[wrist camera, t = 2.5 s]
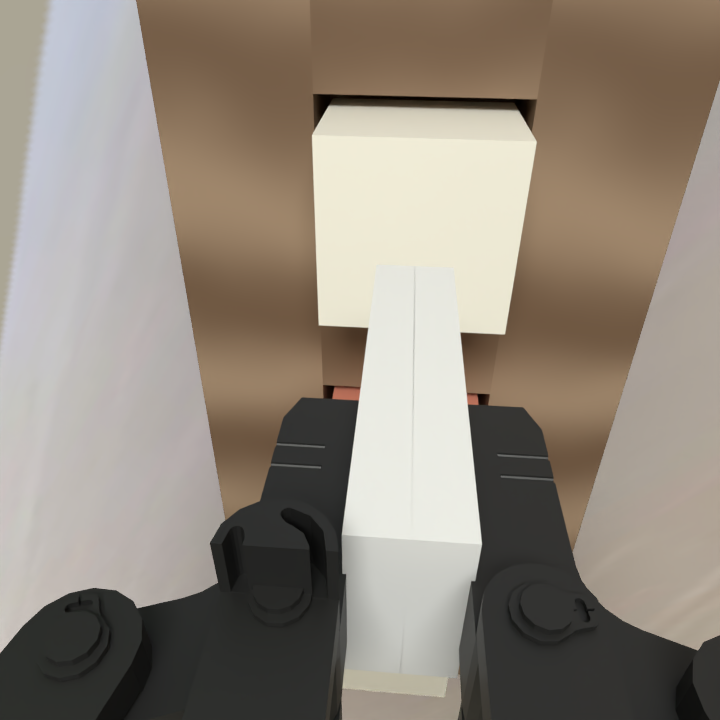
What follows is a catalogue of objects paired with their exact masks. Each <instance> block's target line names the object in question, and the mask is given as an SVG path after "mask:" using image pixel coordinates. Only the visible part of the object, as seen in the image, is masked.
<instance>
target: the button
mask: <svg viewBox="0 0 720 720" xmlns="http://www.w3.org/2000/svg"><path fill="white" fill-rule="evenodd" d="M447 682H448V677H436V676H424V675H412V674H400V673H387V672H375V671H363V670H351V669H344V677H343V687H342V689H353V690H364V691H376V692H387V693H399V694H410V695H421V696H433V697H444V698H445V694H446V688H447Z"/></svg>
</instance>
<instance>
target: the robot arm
mask: <svg viewBox="0 0 720 720" xmlns="http://www.w3.org/2000/svg"><path fill="white" fill-rule="evenodd" d="M553 479H554V476H553V472H552V468H551V464H550V461H548V452H547V448H546V444H545V440H544V436H543V432H542V429H541V428H540V427H539V426H538V424H537V423H536V422H535V421H534V420H533V418H532V417H531V416H530V415H529V414H528V412H527V411H526V410H525V409H524V408H523V407H508V406H489V405H471V404H468V403H467V393H466V383H465V374H464V364H463V354H462V344H461V335H460V325H459V315H458V305H457V296H456V286H455V276H454V268H449V267H424V266H400V265H376V273H375V281H374V288H373V296H372V304H371V312H370V319H369V327H368V335H367V343H366V350H365V358H364V366H363V374H362V382H361V389H360V397H359V400H342V399H323V398H305V397H302V398H301V399H300V400H299V401H298V402H297V403H296V404H295V405H294V406H293V407H292V409H291V410H290V411H289V412H288V413H287V414H286V415H285V416H284V417H283V420H282V424H281V428H280V431H279V435H278V438H277V444H276V447H275V449H274V452H273V456H272V460H271V467H269V470H268V474H267V477H266V481H265V485H264V488H263V492H262V495H261V499H260V501H259V502H256V503H254V504H251V505H249V506H246V507H244V508H241V509H239V510H238V511H237V512H235V513H234V514H233V515H232V516H230V517H229V518H228V519H227V520H226V521H224V522H223V523H222V524H221V525H220V527H219V529H218V530H217V532H216V534H215V535H214V537H213V539H212V541H211V542H210V545H211V550H212V555H213V560H214V565H215V569H216V574H217V579H218V583H217V584H215V585H213V586H212V587H210V588H208V589H206V590H204V591H203V592H200V593H197V594H194V595H191V596H188V597H185V598H181V599H177V600H172V601H168V602H163V603H159V604H155V605H150V606H146V607H142V608H136V606H135V604H134V602H133V601H132V600H131V599H129V598H127V597H126V596H124V595H122V594H121V593H119V592H118V591H116V590H107V589H98V588H92V589H87V590H83V591H78V592H73V593H69V594H67V595H65V596H63V597H61V598H60V599H58V600H56V601H54V602H52V603H50V604H48V605H46V606H44V607H43V608H42V609H41V610H40V611H39V612H38V613H37V614H36V615H35V616H34V617H32V618H31V619H30V620H29V621H28V622H27V623H26V624H25V625H24V626H23V627H22V628H21V629H20V630H19V632H18V633H17V634H16V635H15V636H14V638H13V639H12V640H11V641H10V642H9V643H8V645H7V646H6V647H5V648H4V649H3V651H2V652H1V653H0V720H342V701H341V697H342V687H343V677H344V669H351V670H363V671H375V672H387V673H400V674H412V675H424V676H436V677H448V678H457V676H458V671H459V665H460V680H461V699H462V702H461V707H460V712H459V717H458V720H720V636H717V637H715V638H712V639H710V640H708V641H705V642H704V643H703V644H702V646H701V647H700V649H699V650H698V651H697V650H695V649H692V648H689V647H686V646H684V645H681V644H678V643H676V642H673V641H670V640H667V639H665V638H662V637H659V636H657V635H654V634H651V633H648V632H646V631H643V630H641V629H639V628H636V627H634V626H632V625H630V624H628V623H626V622H624V621H622V620H621V619H619V618H618V617H616V616H615V615H613V614H612V613H611V612H609V611H608V610H606V609H605V608H604V607H603V606H602V605H601V604H600V603H599V602H598V600H597V598H596V597H595V596H594V595H593V594H592V593H591V592H590V591H589V590H588V589H587V588H586V586H585V585H584V583H583V582H582V580H581V578H580V576H579V573H578V570H577V568H576V565H575V561H574V557H573V553H572V549H571V545H570V541H569V537H568V533H567V529H566V525H565V521H564V517H563V513H562V509H561V505H560V500H559V496H558V492H557V488H556V484H555V483H554V481H553Z"/></svg>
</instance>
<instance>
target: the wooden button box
mask: <svg viewBox="0 0 720 720" xmlns="http://www.w3.org/2000/svg"><path fill="white" fill-rule="evenodd" d="M136 2H137V8H138V14H139V19H140V25H141V31H142V37H143V43H144V49H145V54H146V60H147V66H148V72H149V78H150V83H151V89H152V95H153V101H154V107H155V113H156V118H157V124H158V130H159V136H160V142H161V148H162V153H163V159H164V165H165V171H166V177H167V182H168V188H169V194H170V200H171V206H172V212H173V217H174V223H175V229H176V235H177V241H178V246H179V252H180V258H181V264H182V270H183V276H184V281H185V287H186V293H187V299H188V305H189V310H190V316H191V322H192V328H193V334H194V340H195V345H196V351H197V357H198V363H199V369H200V374H201V380H202V386H203V392H204V398H205V404H206V409H207V415H208V421H209V427H210V433H211V438H212V444H213V450H214V456H215V462H216V468H217V473H218V479H219V485H220V491H221V497H222V502H223V508H224V514H225V520H227V519H228V518H229V517H230V516H232V515H233V514H234V513H235V512H237V511H238V510H239V509H241V508H244V507H246V506H249V505H251V504H254V503H256V502H259V501H260V499H261V495H262V492H263V488H264V485H265V481H266V477H267V474H268V470H269V467H271V460H272V456H273V452H274V449H275V447H276V444H277V438H278V435H279V431H280V428H281V424H282V420H283V417H284V416H285V415H286V414H287V413H288V412H289V411H290V410H291V409H292V407H293V406H294V405H295V404H296V403H297V402H298V401H299V400H300V399H301V398H302V397H305V398H323V399H332V398H333V393H334V387H335V386H351V387H361V382H362V374H363V366H364V358H365V350H366V343H367V335H368V328H362V327H342V326H322V325H319V319H318V291H317V263H316V236H315V208H314V180H313V152H312V134H313V132H314V131H315V129H316V127H317V125H318V124H319V122H320V120H321V118H322V117H323V115H324V113H325V111H326V110H327V108H328V106H329V104H330V103H331V101H332V99H333V98H346V99H386V100H426V101H466V102H506V103H515V105H516V107H517V109H518V110H519V112H520V114H521V115H522V117H523V119H524V121H525V122H526V124H527V126H528V127H529V129H530V131H531V133H532V134H533V136H534V138H535V139H536V141H537V144H536V150H535V156H534V162H533V168H532V174H531V180H530V186H529V192H528V198H527V204H526V210H525V216H524V222H523V228H522V234H521V241H520V247H519V253H518V259H517V265H516V271H515V277H514V283H513V289H512V295H511V301H510V307H509V313H508V319H507V325H506V331H505V334H484V333H464V332H460V335H461V344H462V354H463V364H464V374H465V383H466V393H477V396H478V404H479V405H489V406H508V407H523V408H524V409H525V410H526V411H527V412H528V414H529V415H530V416H531V417H532V418H533V420H534V421H535V422H536V423H537V424H538V426H539V427H540V428H541V429H542V432H543V436H544V440H545V444H546V448H547V452H548V461H550V464H551V468H552V472H553V476H554V479H553V481H554V483H555V484H556V488H557V492H558V496H559V500H560V505H561V509H562V513H563V517H564V521H565V525H566V529H567V533H568V537H569V541H570V545H571V549H572V552H573V549H574V546H575V542H576V539H577V536H578V533H579V530H580V526H581V523H582V520H583V517H584V514H585V510H586V507H587V504H588V501H589V497H590V494H591V491H592V488H593V485H594V481H595V478H596V475H597V472H598V469H599V465H600V462H601V459H602V456H603V453H604V449H605V446H606V443H607V440H608V437H609V433H610V430H611V427H612V424H613V421H614V417H615V414H616V411H617V408H618V405H619V401H620V398H621V395H622V392H623V388H624V385H625V382H626V379H627V376H628V372H629V369H630V366H631V363H632V360H633V356H634V353H635V350H636V347H637V344H638V340H639V337H640V334H641V331H642V328H643V324H644V321H645V318H646V315H647V312H648V308H649V305H650V302H651V299H652V296H653V292H654V289H655V286H656V283H657V279H658V276H659V273H660V270H661V267H662V263H663V260H664V257H665V254H666V251H667V247H668V244H669V241H670V238H671V235H672V231H673V228H674V225H675V222H676V219H677V215H678V212H679V209H680V206H681V203H682V199H683V196H684V193H685V190H686V187H687V183H688V180H689V177H690V174H691V170H692V167H693V164H694V161H695V158H696V154H697V151H698V148H699V145H700V142H701V138H702V135H703V132H704V129H705V126H706V122H707V119H708V116H709V113H710V110H711V106H712V103H713V100H714V97H715V94H716V90H717V87H718V84H719V81H720V0H136ZM458 674H459V675H460V665H459V671H458Z"/></svg>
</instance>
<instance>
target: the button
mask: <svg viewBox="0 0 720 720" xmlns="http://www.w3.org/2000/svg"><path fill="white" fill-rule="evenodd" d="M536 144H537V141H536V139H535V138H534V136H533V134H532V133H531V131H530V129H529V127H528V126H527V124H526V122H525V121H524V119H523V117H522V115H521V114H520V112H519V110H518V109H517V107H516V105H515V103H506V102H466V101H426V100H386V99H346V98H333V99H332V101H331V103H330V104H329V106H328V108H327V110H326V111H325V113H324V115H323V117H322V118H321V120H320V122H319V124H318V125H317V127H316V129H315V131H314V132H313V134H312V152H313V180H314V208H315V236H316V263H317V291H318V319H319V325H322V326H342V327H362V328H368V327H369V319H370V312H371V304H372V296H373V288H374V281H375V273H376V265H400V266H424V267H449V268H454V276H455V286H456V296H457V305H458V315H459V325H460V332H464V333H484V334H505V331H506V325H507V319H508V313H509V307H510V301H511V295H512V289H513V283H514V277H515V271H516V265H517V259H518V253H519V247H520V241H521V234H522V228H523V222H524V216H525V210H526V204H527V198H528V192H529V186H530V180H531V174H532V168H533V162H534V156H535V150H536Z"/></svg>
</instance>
